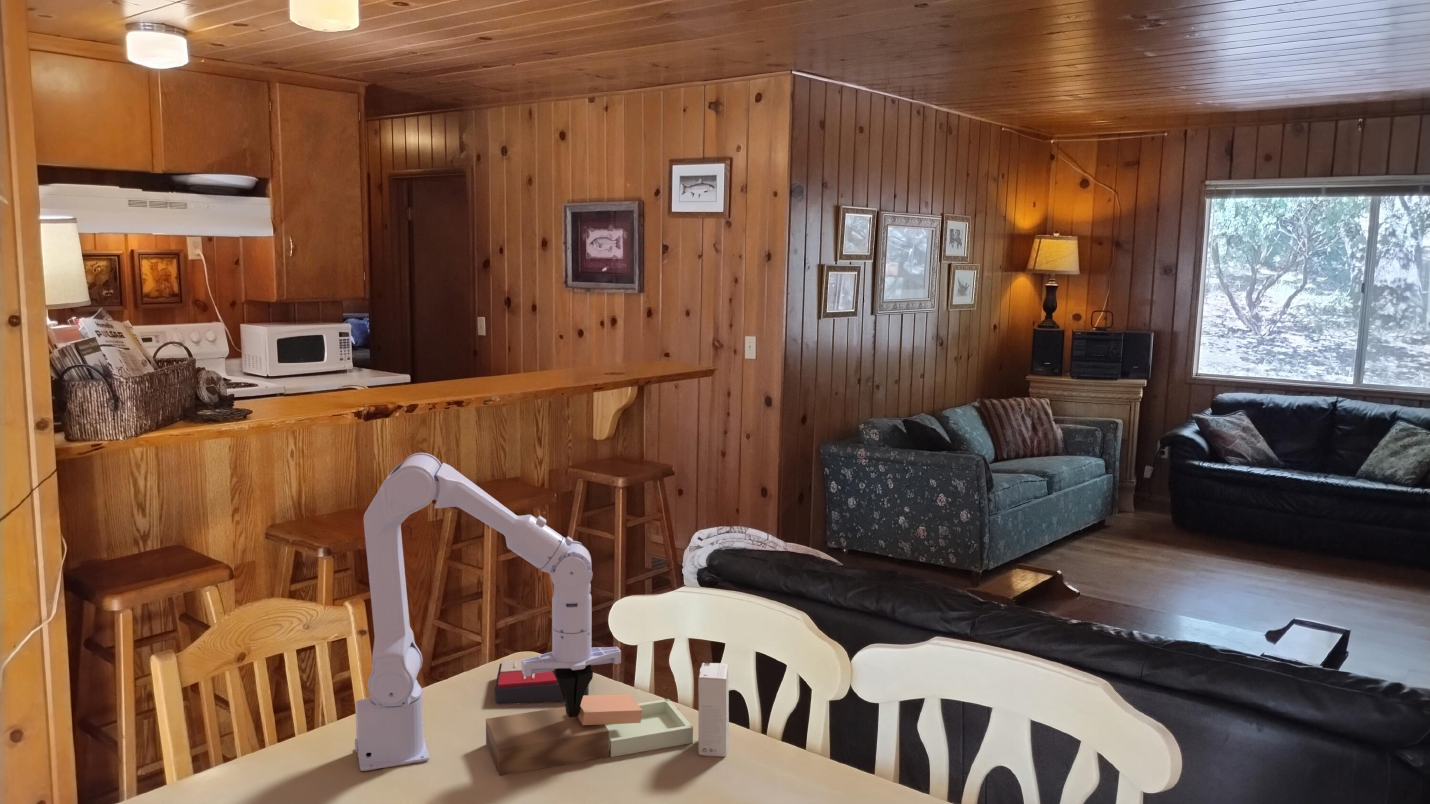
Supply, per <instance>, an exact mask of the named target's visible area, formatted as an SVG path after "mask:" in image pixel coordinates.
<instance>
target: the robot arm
mask: <svg viewBox="0 0 1430 804" xmlns="http://www.w3.org/2000/svg"><path fill="white" fill-rule="evenodd" d="M433 500H435V501H436V502H435V505H434V508H435V509H445V508H446V509H447V508H455V507H456V508H459V509H461V510H462V511H464V512H466V513H467V514H469V515H470V516H472V517H474V518H475V519H478V520H479V521H481V522H482V523H483V524H485V525H487V526H489V527H490V528H491V529H494V530H495V531H497V532H499V533H500V534H501V535H503V536H504V537H505V543H506V547H507V549H508V550H510V551H511V552H513V553H514V554H516V555H517V556H519V557H521V558H522V559H523V560H525V561H527V562H528V563H530V564H531V565H532V566H534V567H535V568H536V569H538V570H540V571H541V572H543V573H548V574H550V579H551V582H552V584H553V595H552V597H551V605H552V606H551V607H552V608H551V610H552V611H551V624H552V625H551V630H552V631H551V632H552V633H551V634H552V637H551V638H552V640H551V643H552V644H551V646H552V648H551V649H552V651H550V652H545V653H543V654H539V655H536V656H533V657H529V658H521V659H522V673H523V675H524V676H525V677H527V676H531V675H532V674H535V673H542V672H549V671H553V673H554V675H555V677H556V679H557V682H558V684H559V686H560V689H561V692H562V695H563V698H564V702H563V703H564V707H565V708H566V713H567V715H568V716H569V717H576V716H578V714H579V709H580V705H581V701H582V698H583V696H584V693H585V691H586V689H587V687H588V685H590V683H591V681H592V680H593V677H594V670H592V666H596V665H597V666H598V665H604V664H612V663H613V664H614V665H618V664H621V663H622V650H621V649H620V648H619V647H618V646H610V647H605V646H604V647H600V646H599V647H594V646H593V647H592V623H593V622H592V619H593V618H592V612H593V611H592V610H593V609H592V604H593V603H592V601H593V600H592V594H591V591H592V589H591V588H592V587H591V586H592V585H591V582H592V580H593V576H594V575H593V574H594V573H593V571H592V570H593V569H592V568H593V567H592V557H591V554H590V551H589V550H588V549H587V548H586V547H585V546H584V545H583V544H582V542H580V541H576V540H574V539H573V538H571V537H570V536H569V535H568V536H567V537H564V536H562V535H561V534H560V533H558V532H557V531H555V530H554V529H553V528H551V527H550V526H548V525H547V519H546V518H544V517H542V516H541V515H538V517H535V516H533V515H532V514H525V515H517V514H515V513H514V512H513V511H511V510H510V509H509V508H507V507H506V506H504V505H503V504H502V503H501V502H499V501H498V500H497V499H495V498H494V497H493V496H491V495H490V494H488V492H486V491H485V490H484V489H482V488H481V487H479V486H478V485H477V484H476V483H474V482H473V481H472V480H470V479H469V478H467V477H466V476H464V475H463V474H462V473H461V472H459V471H458V470H456V469H455V467H453V466H451V465H450V464H447V463H445V462H443V463H441V461H440V460H439V459H438V458H437V457H435V456H434V455H432V454H430V453H427V452H415V453H413V454H410V455H409V456H407V457H406V458H405V459H404V460H402V461H401V462H399V464H397V466H395V467H394V468H393V469H392V471H391V472H390V474H389V475H388V476H387V477H386V478H385V479H384V480H383V482H382V484H381V485H380V487H379V488H378V491H377V493H376V494H375V496H374V497H373V499H372V500H371V502H370V504H369V506H368V508H367V509H366V511H365V512H364V515H363V528H364V529H363V530H364V538H365V539H364V541H365V551H366V558H367V570H368V582H369V590H370V602H371V612H372V613H371V614H372V623H373V632H374V633H373V634H374V640H373V641H374V642H373V646H372V647H373V649H372V656H371V657H372V658H371V659H372V669H371V672H370V675H369V677H368V680H367V689H368V693H369V696H367V697H364V698H362V699H359V700H356V701H355V731H356V735H355V736H356V738H355V739H354V748H355V752H356V753H357V757H358V764H359V770H360V772H361V771H362V772H365V771H366V772H367V771H372V770H377V769H383V768H390V767H396V766H402V765H403V766H404V765H408V764H414V763H419V762H427V761H429V760H430V754H429V750H428V748H427V744H426V740H425V737H424V722H423V721H424V717H423V716H424V715H423V712H424V711H423V706H424V705H423V688H422V686H421V685H420V684H419V682H418V680H417V677H418V675H419V672H420V671H421V669H422V666H423V655H422V652H421V651H420V649H419V647H418V646H417V645H416V643H415V635H414V631H413V630H412V628H411V624H410V615H409V603H408V593H407V582H406V581H407V580H406V573H405V572H406V570H405V558H404V549H403V548H404V547H403V539H402V538H403V537H402V529H401V528H402V526H401V525H402V523H403V522H404V521H405V520H406V519H407V518H408V517H409V516H410V515H412V514H414V513H416V512H418V511H420V510H423V509H424V508H426V507H427V506H428V505H430V504H431V503H432V502H433Z"/></svg>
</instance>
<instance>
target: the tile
mask: <svg viewBox="0 0 1430 804" xmlns="http://www.w3.org/2000/svg"><path fill="white" fill-rule="evenodd" d="M638 704H639V703H638V702H637V701H635V699H634V698H633V696H632V695H631V694H629V693H624V694H620V693H619V694H592V695H591V694H589V695H584V696H583V698H582V701H581V705H580V709H579V714H578V716H577V717H578V719H579V720H580V722H581V723H582V725H603V724H627V723H641V716H642V709H641V708H640V707H639V705H638Z"/></svg>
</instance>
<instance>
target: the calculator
mask: <svg viewBox="0 0 1430 804" xmlns="http://www.w3.org/2000/svg"><path fill="white" fill-rule="evenodd" d="M522 659H523V658H521V659H508V660H502V662H500V664H499V666H498V672H497V677H496V681H495V686H494V694H495V695H494V696H495V698H494V699H495V700H494V701H495V704H496V705H515V704H517V703H520V704H539V703H540V702H541V703H550V702H553V703H554V702H562V703H565V702H564V698H563V695H562V692H561V689H560V686H559V684H558V682H557V679H556V677H555V675H554V673H553V671H549V672H542V673H535V674H532V675H531V676H527V677H525V676H524V675H523V673H522ZM589 685H590V684H589ZM589 685H588V687H587V689H586V691H585V693H584V695H590V694H589V691H590V689H589ZM514 703H515V704H514ZM541 703H540V704H541Z"/></svg>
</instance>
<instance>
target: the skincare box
mask: <svg viewBox="0 0 1430 804" xmlns="http://www.w3.org/2000/svg"><path fill="white" fill-rule="evenodd" d="M697 681H698V684H697V686H698V688H697V689H698V692H697V693H698V694H697V695H698V754H699V755H700V756H704V757H705V756H706V757H726V756H727V754H728V749H729V745H730V744H729V743H730V742H729V740H730V737H729V735H730V730H729V729H730V728H729V725H730V724H729V723H730V721H729V719H730V717H729V716H730V714H729V713H730V712H729V710H730V709H729V707H730V706H729V704H730V703H729V699H730V697H729V694H730V693H729V691H730V689H729V687H730V686H729V664H728V663H723V662H722V663H719V662H702V663H701V666H700V669H699V674H698V680H697Z"/></svg>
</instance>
